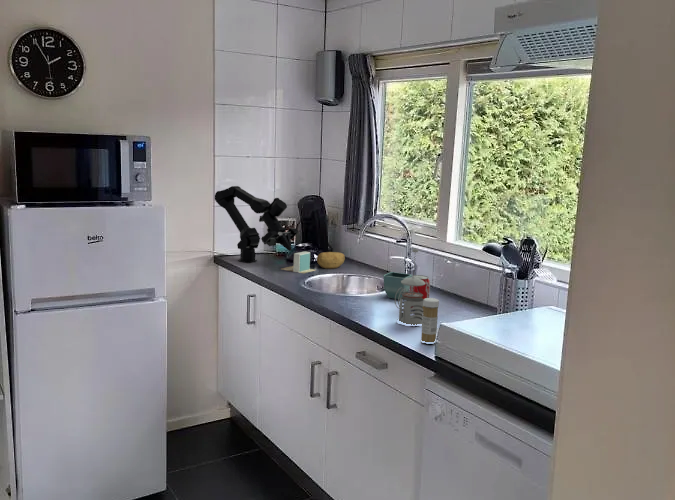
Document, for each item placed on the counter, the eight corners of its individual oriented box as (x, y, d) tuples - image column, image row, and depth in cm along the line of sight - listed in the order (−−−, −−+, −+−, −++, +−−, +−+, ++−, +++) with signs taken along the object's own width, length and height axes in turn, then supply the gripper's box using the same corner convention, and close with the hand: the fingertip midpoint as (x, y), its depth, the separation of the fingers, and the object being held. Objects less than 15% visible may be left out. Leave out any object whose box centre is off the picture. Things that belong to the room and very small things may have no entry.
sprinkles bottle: (431, 340, 189) (434, 297, 187) (438, 345, 185) (442, 300, 183) (417, 341, 188) (420, 297, 186) (424, 346, 184) (428, 301, 181)
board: (279, 270, 278) (279, 269, 278) (293, 267, 287) (293, 265, 286) (303, 275, 271) (303, 273, 271) (316, 271, 280) (316, 270, 280)
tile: (293, 271, 274) (294, 253, 273) (304, 268, 281) (304, 251, 279) (299, 272, 272) (299, 254, 271) (309, 269, 279) (310, 252, 278)
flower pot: (389, 293, 246) (391, 271, 244) (411, 297, 242) (412, 274, 240) (381, 298, 238) (382, 275, 236) (403, 301, 234) (404, 278, 232)
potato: (349, 269, 287) (350, 252, 286) (323, 272, 280) (324, 254, 278) (337, 265, 295) (338, 249, 294) (312, 268, 288) (312, 250, 286)
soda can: (423, 313, 219) (425, 279, 217) (405, 309, 223) (407, 276, 221) (431, 309, 225) (433, 276, 223) (413, 305, 229) (415, 273, 227)
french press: (431, 324, 206) (437, 249, 202) (404, 329, 199) (410, 252, 195) (411, 317, 214) (416, 245, 209) (385, 321, 207) (389, 247, 203)
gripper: (276, 232, 295) (294, 258, 291) (248, 236, 280) (266, 263, 276) (289, 217, 289) (307, 243, 285) (262, 220, 275) (280, 248, 270)
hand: (290, 250), depth 279 cm, fingers closed
